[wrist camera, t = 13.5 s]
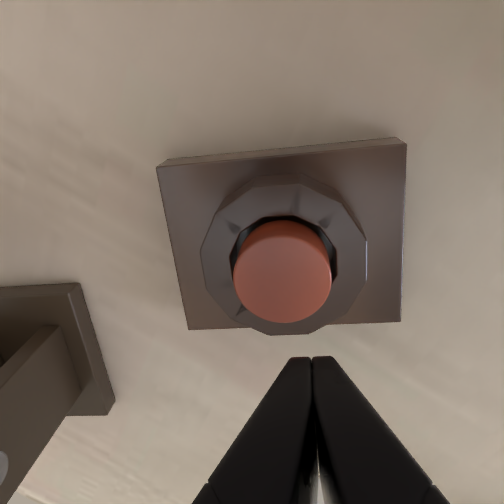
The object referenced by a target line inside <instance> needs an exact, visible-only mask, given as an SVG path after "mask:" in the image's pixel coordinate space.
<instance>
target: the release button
mask: <svg viewBox="0 0 504 504" xmlns="http://www.w3.org/2000/svg"><path fill="white" fill-rule="evenodd" d="M331 283H332V276H331V269H330V263H329V258H328V253H327V249H326V247H325V244H324V243H323V241H322V239H321V238H320V237H319V236H318V235H317V234H316V233H315V232H314V231H313V230H312V229H310V228H309V227H307V226H305V225H303V224H301V223H298V222H294V221H289V220H277V221H271V222H268V223H265V224H263V225H261V226H259V227H257V228H256V229H254V230H253V231H252V232H251V233H250V234H249V235H248V236H247V237H246V239H245V240H244V242H243V244H242V246H241V248H240V251H239V254H238V257H237V261H236V264H235V267H234V271H233V284H234V289H235V291H236V294H237V296H238V298H239V300H240V301H241V302H242V304H243V305H244V306H245V307H246V308H247V309H248V310H249V311H250V312H251V313H253V314H254V315H256V316H258V317H260V318H262V319H264V320H267V321H271V322H277V323H290V322H296V321H299V320H302V319H305V318H307V317H309V316H310V315H312V314H314V313H315V312H316V311H317V310H318V309H319V308H320V307H321V306H322V305H323V304H324V302H325V301H326V299H327V297H328V295H329V292H330V289H331Z"/></svg>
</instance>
